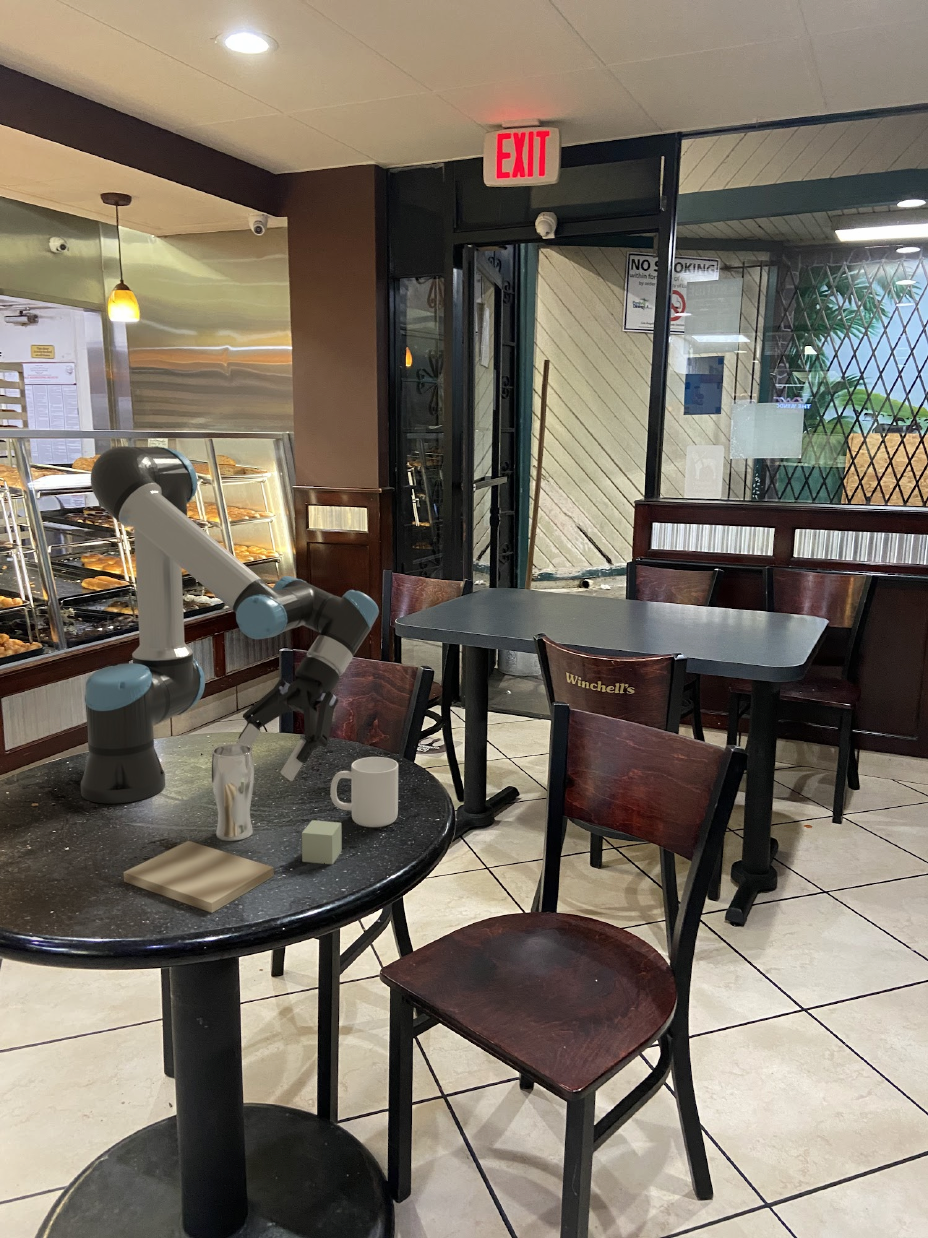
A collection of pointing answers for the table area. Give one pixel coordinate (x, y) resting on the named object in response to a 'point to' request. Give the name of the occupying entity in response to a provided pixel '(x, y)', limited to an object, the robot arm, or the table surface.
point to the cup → (370, 791)
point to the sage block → (321, 842)
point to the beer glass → (233, 790)
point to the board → (199, 875)
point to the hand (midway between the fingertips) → (259, 767)
